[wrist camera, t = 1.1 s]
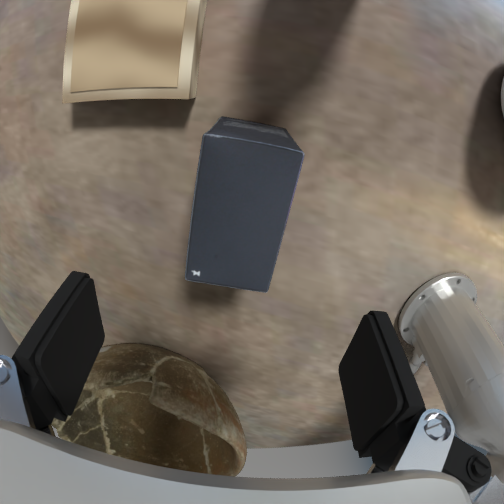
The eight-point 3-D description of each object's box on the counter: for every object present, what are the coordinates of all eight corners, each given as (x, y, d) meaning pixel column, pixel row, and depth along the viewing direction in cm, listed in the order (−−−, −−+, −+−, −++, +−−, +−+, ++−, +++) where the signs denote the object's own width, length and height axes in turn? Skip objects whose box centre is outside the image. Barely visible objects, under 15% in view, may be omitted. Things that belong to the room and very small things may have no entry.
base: (195, 97, 25) (188, 99, 22) (78, 100, 24) (61, 103, 21) (210, -23, 19) (205, -35, 16) (89, -10, 18) (73, -17, 15)
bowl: (56, 277, 35) (-1, 360, 22) (261, 307, 36) (263, 420, 24) (97, 395, 49) (75, 461, 36) (238, 419, 50) (235, 493, 38)
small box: (266, 231, 31) (270, 298, 22) (202, 220, 31) (180, 283, 22) (291, 128, 26) (310, 153, 17) (218, 114, 26) (197, 132, 17)
